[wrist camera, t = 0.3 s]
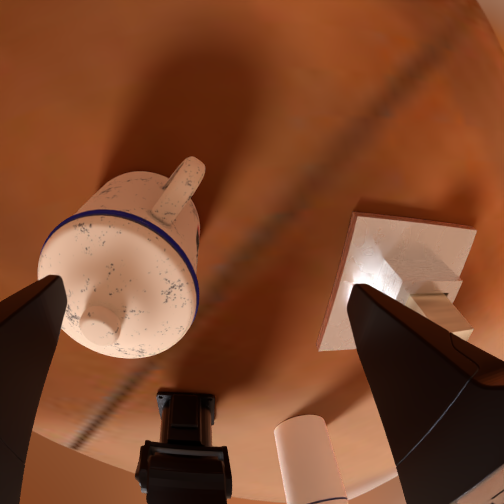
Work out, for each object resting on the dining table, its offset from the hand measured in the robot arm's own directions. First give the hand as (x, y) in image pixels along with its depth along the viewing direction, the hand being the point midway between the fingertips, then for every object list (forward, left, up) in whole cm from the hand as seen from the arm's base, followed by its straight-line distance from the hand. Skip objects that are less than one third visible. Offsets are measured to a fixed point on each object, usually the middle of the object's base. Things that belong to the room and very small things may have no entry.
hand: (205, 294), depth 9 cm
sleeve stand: (-9, -18, -14) cm, 25 cm away
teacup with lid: (-3, +4, -14) cm, 15 cm away
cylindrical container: (-33, -13, -14) cm, 38 cm away
